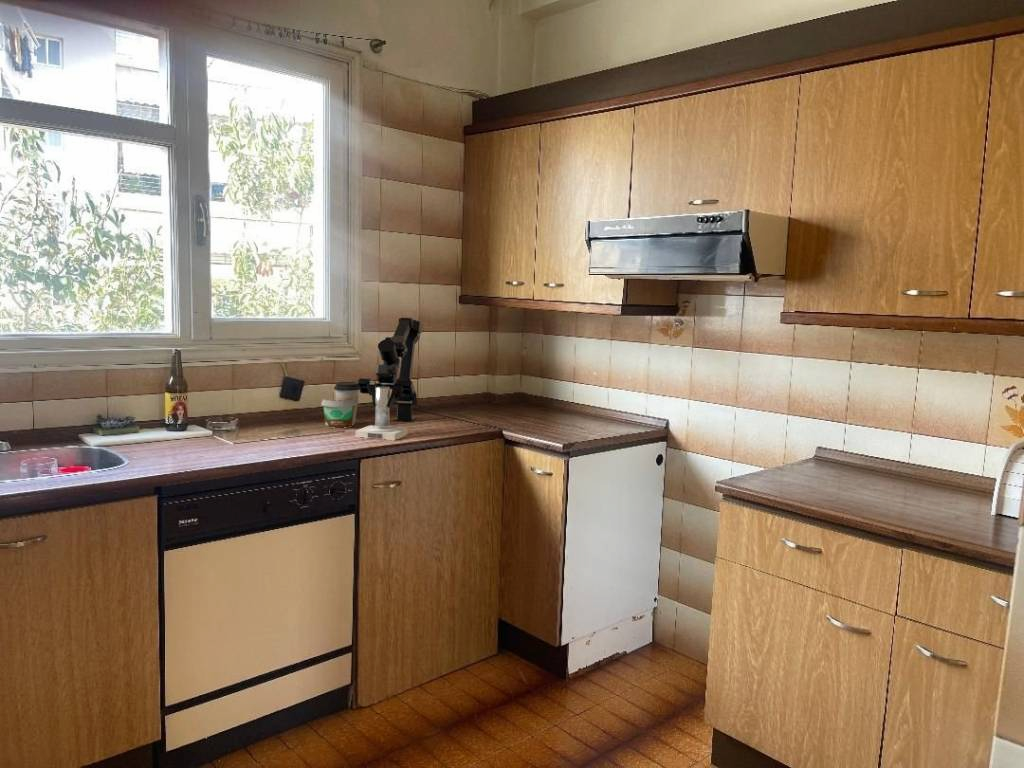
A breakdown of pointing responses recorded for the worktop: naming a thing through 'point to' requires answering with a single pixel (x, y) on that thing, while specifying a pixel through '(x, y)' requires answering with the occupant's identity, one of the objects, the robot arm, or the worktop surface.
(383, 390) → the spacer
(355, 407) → the coffee cup
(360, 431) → the scale
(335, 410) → the food container
